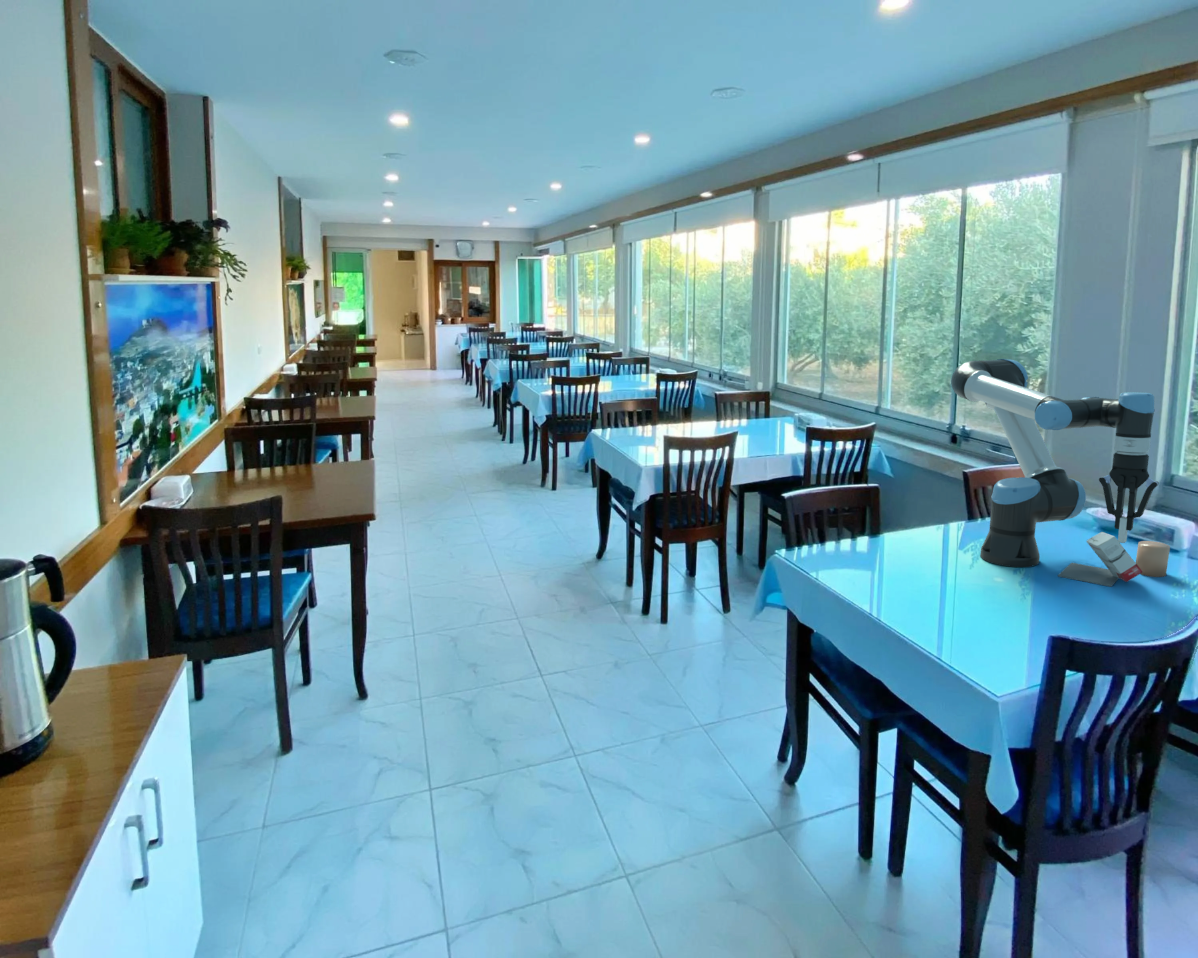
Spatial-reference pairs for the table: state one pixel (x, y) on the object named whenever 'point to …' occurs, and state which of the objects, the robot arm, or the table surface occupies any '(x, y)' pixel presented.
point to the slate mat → (1089, 574)
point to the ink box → (1114, 556)
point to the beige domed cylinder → (1152, 558)
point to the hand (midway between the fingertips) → (1122, 541)
